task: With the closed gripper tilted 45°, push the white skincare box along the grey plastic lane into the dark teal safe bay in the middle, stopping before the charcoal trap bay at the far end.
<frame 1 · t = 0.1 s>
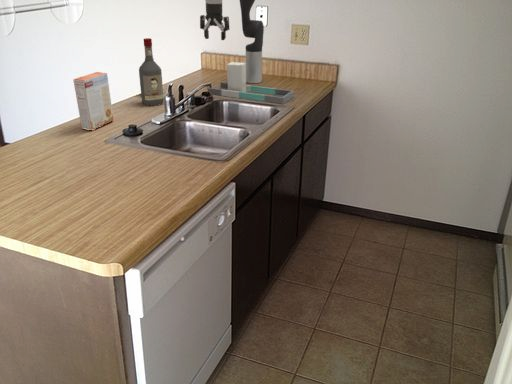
hand: (214, 39, 222), 29 cm above the counter, tool pointing down, fingers open, 8 cm apart
cracker box: (97, 126, 198), on the counter
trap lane: (250, 95, 245), on the counter
liquor: (152, 103, 229), on the counter
skincare box: (236, 93, 248), resting in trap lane
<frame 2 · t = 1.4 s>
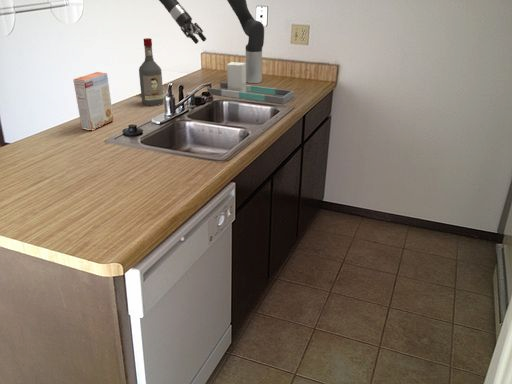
hand: (201, 41, 243), 25 cm above the counter, tool tilted 45°, fingers open, 8 cm apart
nothing on the counter moved.
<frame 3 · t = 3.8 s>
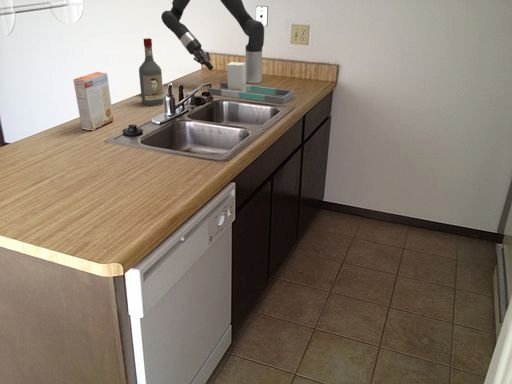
hand: (211, 69, 248), 11 cm above the counter, tool tilted 45°, fingers closed
nothing on the counter moved.
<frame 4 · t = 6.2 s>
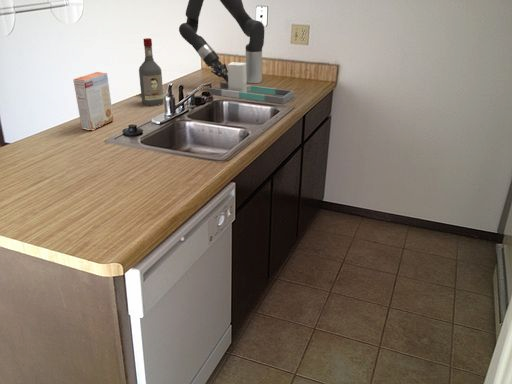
hand: (229, 81, 247), 6 cm above the counter, tool tilted 45°, fingers closed
skincare box: (237, 93, 248), resting in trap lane, touching gripper
everything else where it was.
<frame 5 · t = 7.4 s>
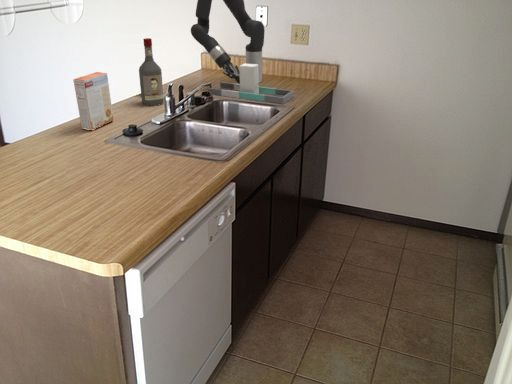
hand: (241, 83, 244), 6 cm above the counter, tool tilted 45°, fingers closed
skincare box: (249, 95, 245), resting in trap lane, touching gripper
everything else where it was.
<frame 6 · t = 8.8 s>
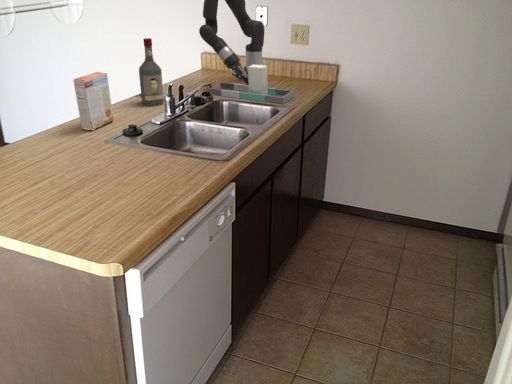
hand: (250, 84, 242), 6 cm above the counter, tool tilted 45°, fingers closed
skincare box: (257, 96, 243), resting in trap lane, touching gripper
everything else where it was.
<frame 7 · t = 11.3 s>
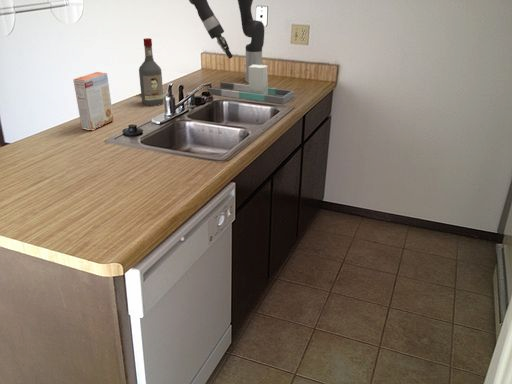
hand: (231, 57, 244), 17 cm above the counter, tool tilted 30°, fingers closed
skincare box: (258, 96, 243), resting in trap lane
everything else where it was.
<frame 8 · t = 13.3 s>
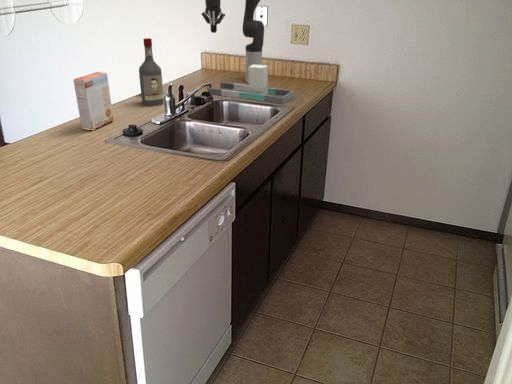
hand: (213, 32, 243), 29 cm above the counter, tool pointing down, fingers closed
nothing on the counter moved.
at the end: skincare box inside the target area (0.6 cm from its centre), resting in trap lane; skincare box tilted 0°; skincare box moved 12.4 cm from its start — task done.
